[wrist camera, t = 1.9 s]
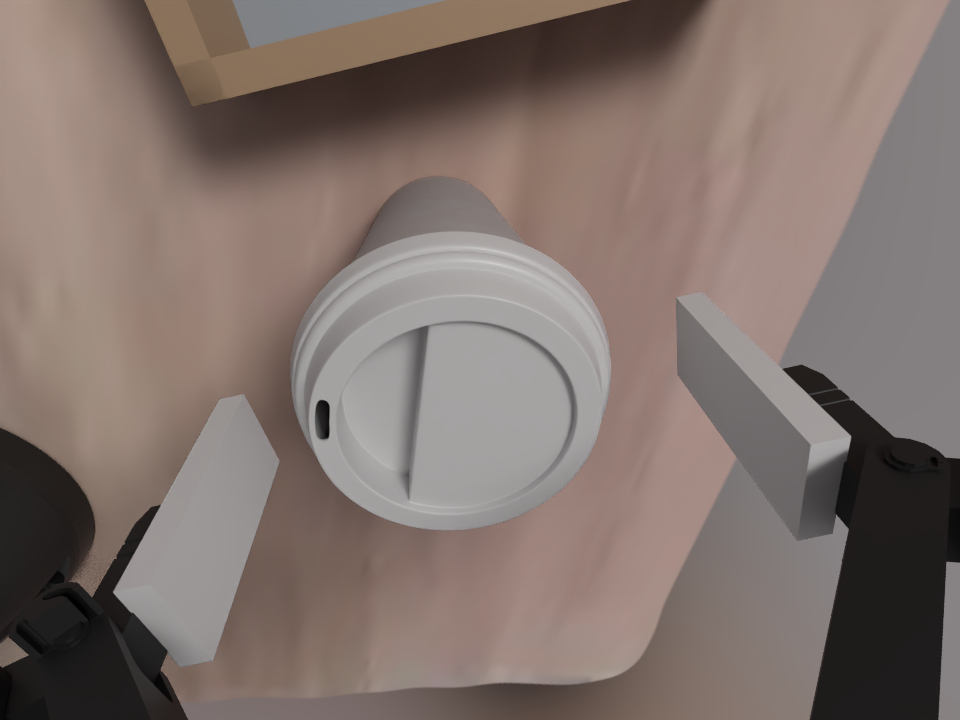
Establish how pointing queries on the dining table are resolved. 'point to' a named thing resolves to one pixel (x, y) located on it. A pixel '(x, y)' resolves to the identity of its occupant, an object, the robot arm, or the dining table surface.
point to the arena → (322, 35)
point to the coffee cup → (450, 366)
